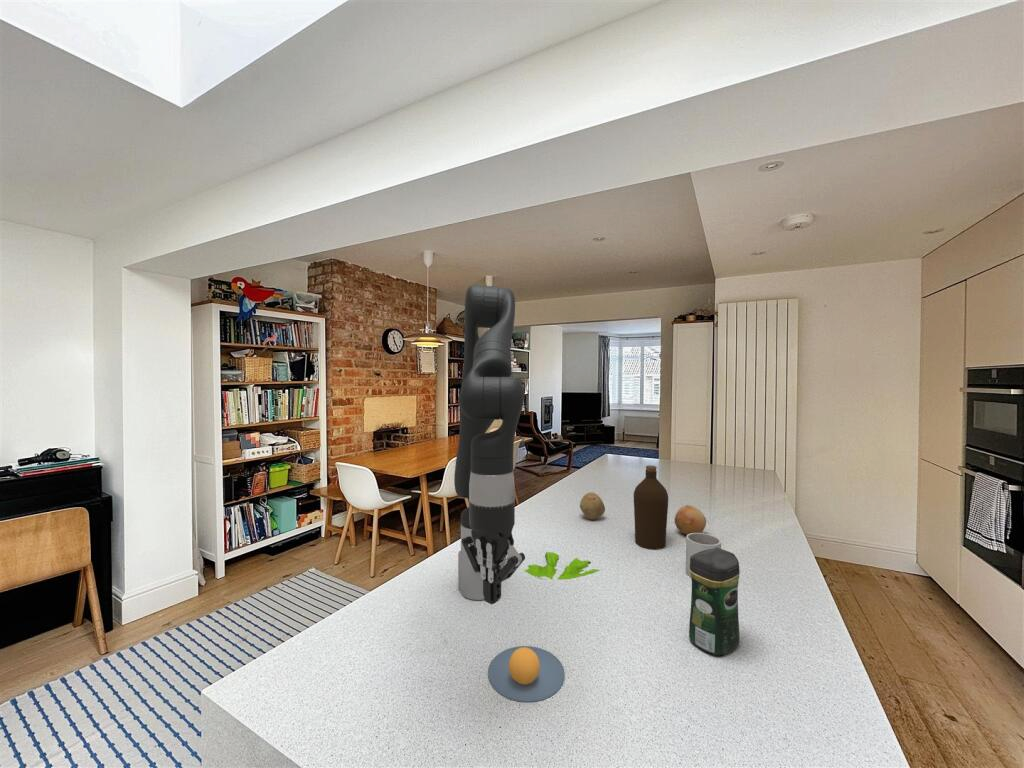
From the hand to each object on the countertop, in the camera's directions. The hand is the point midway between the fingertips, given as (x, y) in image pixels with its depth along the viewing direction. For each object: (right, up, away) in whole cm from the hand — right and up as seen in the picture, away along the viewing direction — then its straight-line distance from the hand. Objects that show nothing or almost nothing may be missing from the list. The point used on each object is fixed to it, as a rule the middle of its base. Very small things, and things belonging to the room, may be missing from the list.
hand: (491, 600), depth 69 cm
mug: (+57, -16, +45) cm, 74 cm away
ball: (+6, -14, +5) cm, 16 cm away
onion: (+64, -15, +72) cm, 98 cm away
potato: (+33, -15, +87) cm, 95 cm away
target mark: (+6, -17, +7) cm, 19 cm away
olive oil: (+48, -16, +65) cm, 82 cm away
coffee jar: (+44, -17, +16) cm, 50 cm away
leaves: (+18, -17, +50) cm, 55 cm away
